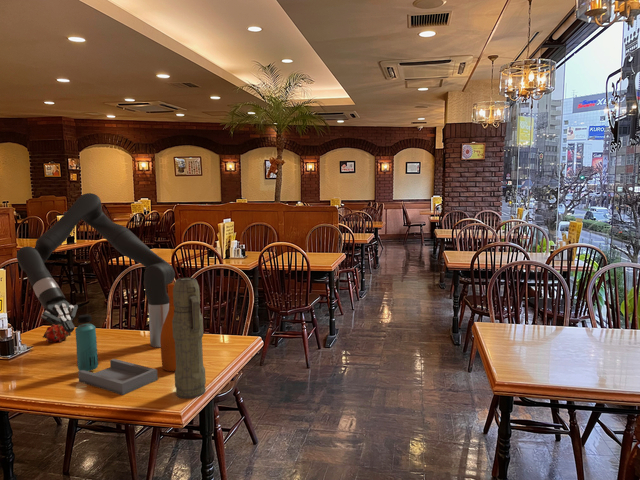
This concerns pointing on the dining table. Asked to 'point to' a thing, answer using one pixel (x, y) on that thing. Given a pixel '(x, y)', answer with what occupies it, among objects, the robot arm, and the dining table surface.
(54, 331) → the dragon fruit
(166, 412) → the dining table surface
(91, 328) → the beverage bottle
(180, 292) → the thermos
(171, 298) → the wine bottle
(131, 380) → the U-rest
